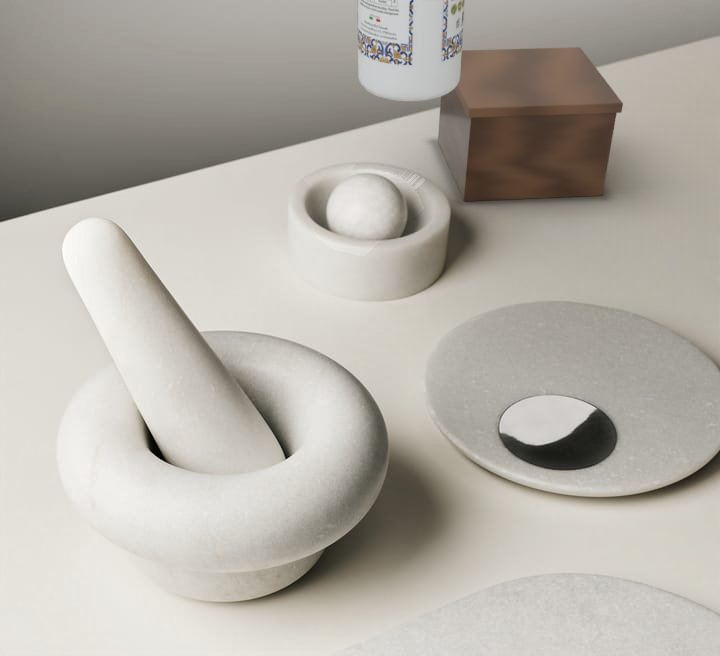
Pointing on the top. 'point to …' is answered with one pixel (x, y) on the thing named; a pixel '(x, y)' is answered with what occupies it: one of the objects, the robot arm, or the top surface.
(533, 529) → the top surface
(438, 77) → the bath foam
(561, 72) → the walnut box
